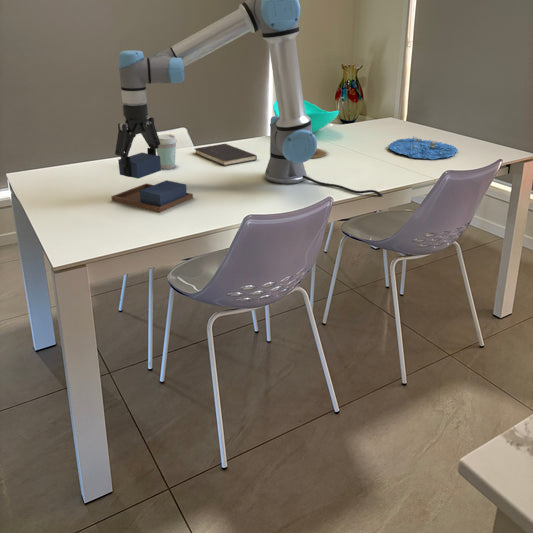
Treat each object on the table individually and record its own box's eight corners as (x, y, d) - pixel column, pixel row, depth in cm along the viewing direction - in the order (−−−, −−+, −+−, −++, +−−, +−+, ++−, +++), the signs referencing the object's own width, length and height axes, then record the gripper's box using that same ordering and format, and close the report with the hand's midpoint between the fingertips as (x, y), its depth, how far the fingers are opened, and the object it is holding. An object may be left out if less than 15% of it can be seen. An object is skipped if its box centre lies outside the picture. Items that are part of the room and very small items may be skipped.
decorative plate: (471, 160, 248) (474, 148, 245) (406, 163, 241) (408, 151, 238) (437, 141, 273) (439, 130, 270) (377, 143, 266) (379, 132, 264)
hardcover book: (223, 166, 232) (223, 160, 231) (194, 153, 249) (194, 148, 248) (256, 160, 241) (256, 154, 240) (226, 148, 257) (226, 143, 256)
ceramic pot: (294, 146, 262) (295, 130, 259) (332, 151, 255) (333, 134, 252) (277, 155, 248) (278, 138, 244) (317, 160, 241) (318, 143, 238)
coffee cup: (174, 171, 226) (172, 139, 221) (152, 169, 227) (150, 138, 222) (181, 165, 233) (179, 134, 228) (160, 163, 235) (158, 133, 230)
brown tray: (193, 199, 196) (192, 193, 195) (159, 214, 183) (159, 208, 182) (146, 188, 206) (146, 183, 205) (112, 202, 193) (111, 196, 192)
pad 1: (161, 170, 195) (160, 155, 193) (138, 178, 187) (136, 163, 184) (143, 166, 199) (141, 152, 197) (119, 174, 190) (118, 159, 188)
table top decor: (352, 138, 277) (354, 109, 271) (302, 144, 265) (303, 114, 259) (306, 122, 308) (307, 96, 302) (260, 127, 296) (260, 100, 290)
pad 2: (187, 198, 195) (186, 184, 193) (160, 210, 185) (159, 195, 183) (167, 194, 199) (166, 180, 197) (140, 205, 189) (139, 190, 187)
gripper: (151, 97, 194) (155, 162, 203) (98, 107, 176) (105, 178, 185) (168, 99, 190) (172, 165, 200) (116, 110, 172) (123, 182, 182)
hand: (140, 172), depth 193 cm, fingers closed on pad 1, 11 cm apart
